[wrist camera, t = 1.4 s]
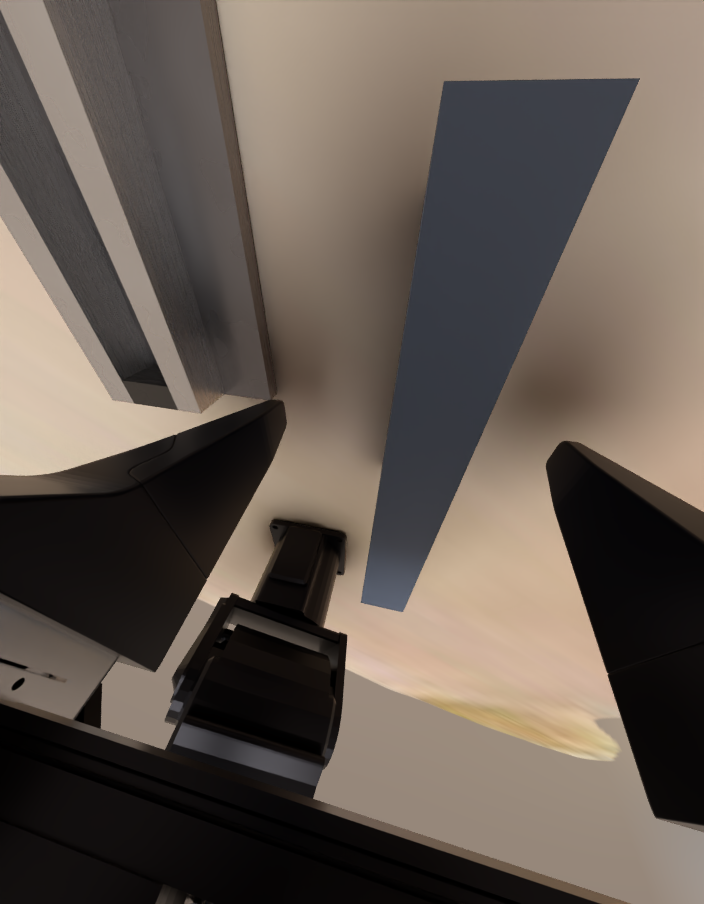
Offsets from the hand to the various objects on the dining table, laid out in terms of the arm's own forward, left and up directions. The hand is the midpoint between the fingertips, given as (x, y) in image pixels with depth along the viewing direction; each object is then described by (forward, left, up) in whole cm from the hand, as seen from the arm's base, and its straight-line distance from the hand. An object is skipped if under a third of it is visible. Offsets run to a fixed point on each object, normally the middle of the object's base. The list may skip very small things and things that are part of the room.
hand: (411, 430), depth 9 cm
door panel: (0, 0, -5) cm, 5 cm away
